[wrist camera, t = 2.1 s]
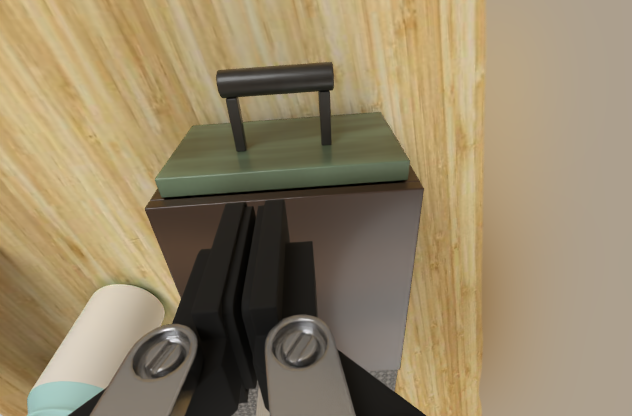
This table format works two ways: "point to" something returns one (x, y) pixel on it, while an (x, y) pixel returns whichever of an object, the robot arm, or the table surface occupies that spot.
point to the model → (255, 411)
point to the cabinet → (324, 254)
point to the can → (94, 348)
